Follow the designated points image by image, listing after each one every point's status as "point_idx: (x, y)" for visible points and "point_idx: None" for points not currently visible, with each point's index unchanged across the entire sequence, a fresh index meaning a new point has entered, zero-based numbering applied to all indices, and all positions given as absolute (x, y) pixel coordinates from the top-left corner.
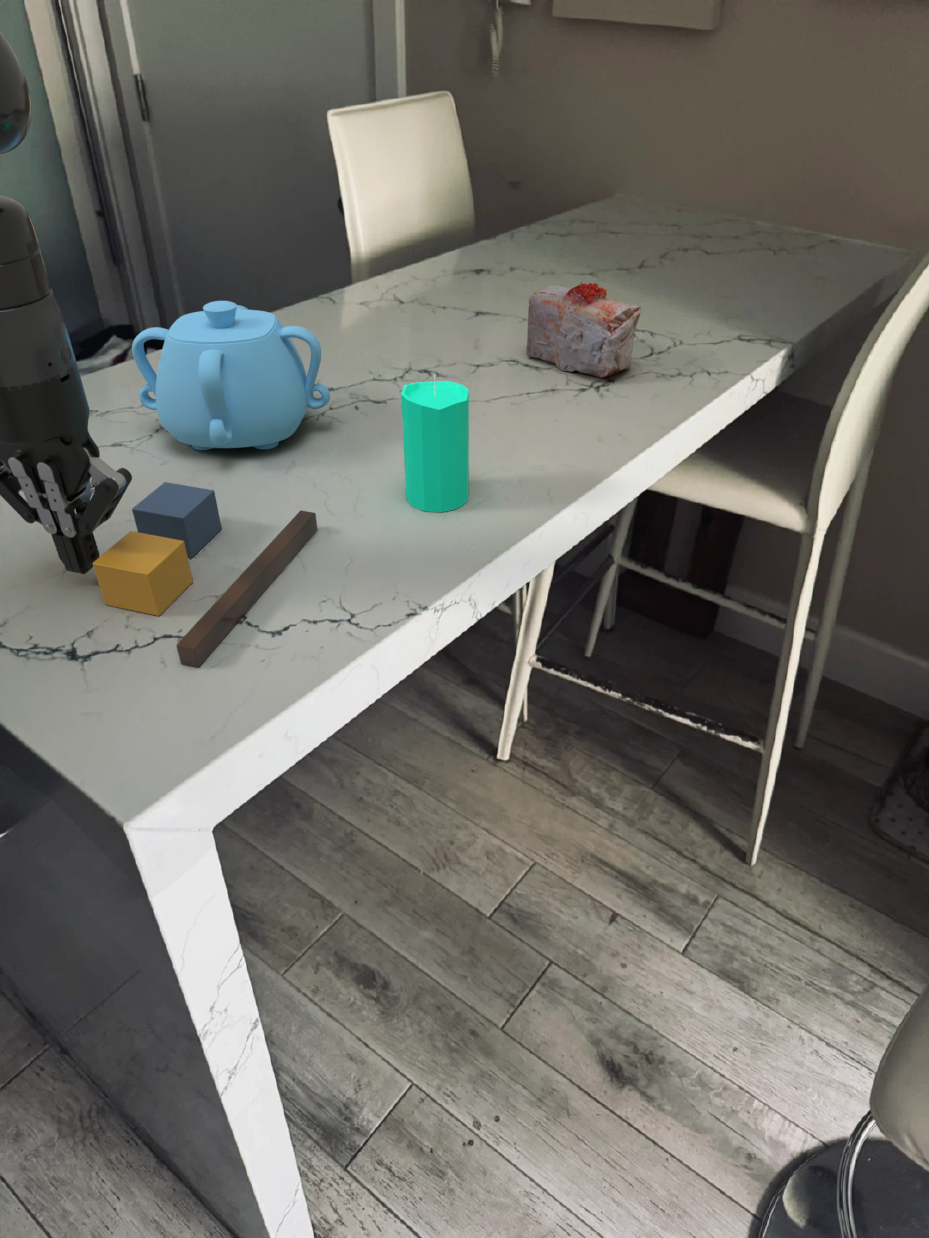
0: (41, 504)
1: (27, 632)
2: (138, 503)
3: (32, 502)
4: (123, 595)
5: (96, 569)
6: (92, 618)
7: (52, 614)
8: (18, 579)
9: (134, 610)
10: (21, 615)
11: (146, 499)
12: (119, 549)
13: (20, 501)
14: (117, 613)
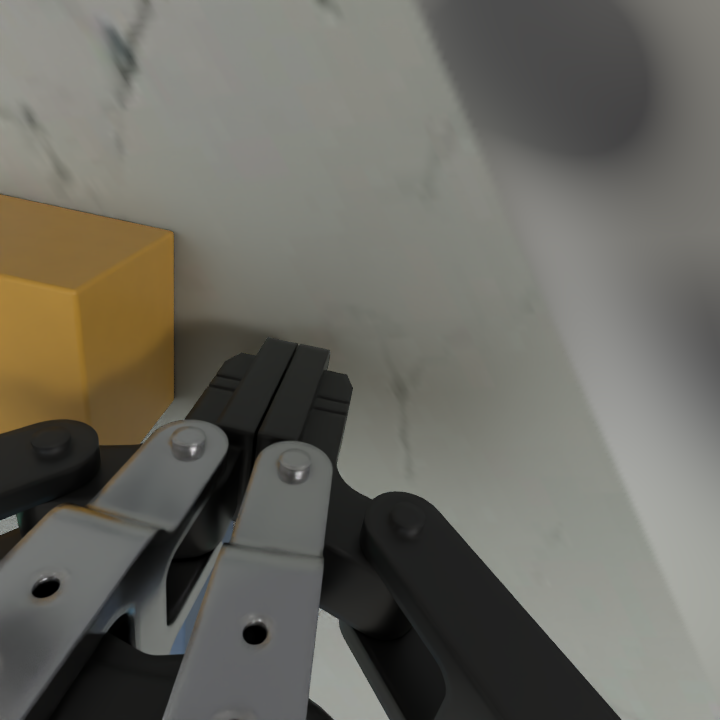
0: (213, 570)
1: (353, 27)
2: (184, 627)
3: (279, 587)
4: (53, 228)
5: (81, 279)
6: (170, 152)
7: (319, 158)
8: (533, 342)
9: (60, 207)
10: (429, 138)
11: (173, 643)
12: (41, 390)
13: (421, 609)
14: (110, 190)
